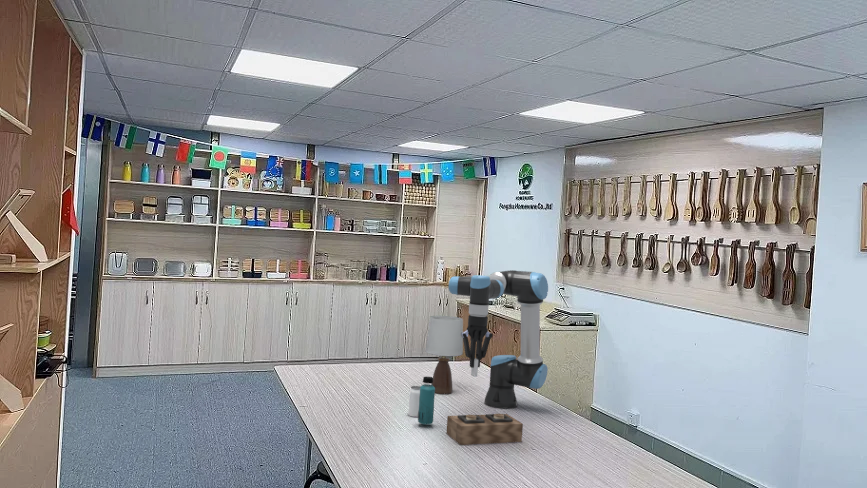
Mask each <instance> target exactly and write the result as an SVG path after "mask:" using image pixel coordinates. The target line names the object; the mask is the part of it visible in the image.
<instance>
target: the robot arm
mask: <svg viewBox="0 0 867 488" xmlns="http://www.w3.org/2000/svg"><path fill="white" fill-rule="evenodd" d="M448 291H449V293H450V294H452V295H456V296H467V297H469V305H468V314H469V315H468V318H467V327H466V330H465V331H463V332H462V333H461V336H462V338H463V350H464V354H465V357H466V358H469V368H470V375H471V376H472V377H478V374H479V373H478V372H479V368H480V366H481V361H482V359H484V358H486V356H487V355H486V354H487V352H488V348H489V345H490V341H491V339H492V338H493V337H494V335H493V333H492V332H490V331H488V330H489V329H488V322H489V321H488V320H489V318H488V316H489V304H490V303H489V302H490V300H493V299H494V300H495V299H498V298H501V297H502V296H503V295H506V296H512V297H517V299H516V300H517V301H516V302H517V303H518V304H520V355H519V356H518V357H517V356H516V355H513V354H500V355H495V356H492V357H491V362H490V373H489V385H488V386H489V387H488V389H487V391H486V395H485V397H484V404H485V405H486V406H488V407H492V408H499V409H513V408H516V407H517V405H518V403H517V401H518V400H517V397H516V393H515V386H518V387H519V386H520V387H524V388H529V389H535V390H539V389H542V387H543V386H544V384H545V382H546V380H547V376H548V369H549V368H548V366H547V364H546V363H544V360H543V357H542V356H541V355H540V345H541V343H540V340H541V339H540V335H541V334H540V332H541V331H540V327H541V326H540V325H541V324H540V323H541V322H540V321H541V320H540V319H541V318H540V316H541V315H540V314H541V312H540V311H541V308H540V307H541V305H542V304H543V303H544V300H545V299H546V298H547V296H548V292H549V284H548V280H547V277H546V276H545V274H544V273H540V272H535V271H526V270H525V271H523V270H503V271H495V272H492V273H491V274H487V275H485V274H484V275H480V274H478V275H476V274H473V275H472V276H459V275H458V276H457V275H456V276H452V277H450V279H449V281H448ZM468 337H469V338H470V341H469V338H468Z"/></svg>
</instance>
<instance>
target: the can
mask: <svg viewBox="0 0 867 488" xmlns="http://www.w3.org/2000/svg"><path fill="white" fill-rule="evenodd" d="M420 387H421V386H418V385H412V386H410V389H409V393H408V397H409V398H408V409H407V410H408V411H407V414H408V416H409V417H412V418H418V411H419V397H420Z"/></svg>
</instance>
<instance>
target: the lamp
mask: <svg viewBox="0 0 867 488" xmlns="http://www.w3.org/2000/svg"><path fill="white" fill-rule="evenodd" d="M463 330H464V319H463V318H462V317H457V316H450V315H432V316H430V317H429V324H428V331H427V336H426V337H427V338H426V345H425V353H426V354H430V355H433V356H437V361H438V362H437V364H436V365H435V368H434V371H433V375H432V378H433V383H430V385H433V386H434V388H435V394H439V395H449V394H453V391H454V390H453V377H452V370H451V367H450V363H449V362H450V360H451V359H450V358H449V357H458V356H462V355H464V353H463V352H464V342H463V338H462V336H461V333H462V332H463V333H464V331H463ZM438 356H439V357H438Z"/></svg>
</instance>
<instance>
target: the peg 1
mask: <svg viewBox="0 0 867 488" xmlns="http://www.w3.org/2000/svg"><path fill="white" fill-rule="evenodd" d="M465 415H466V419H467V420H476V416H475V415H476V414H465Z"/></svg>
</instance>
